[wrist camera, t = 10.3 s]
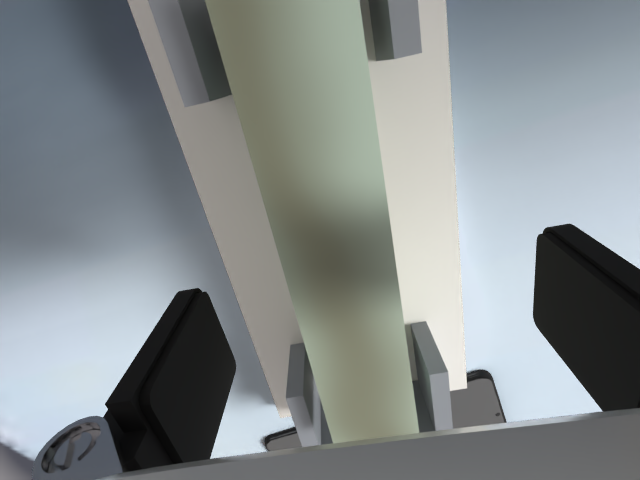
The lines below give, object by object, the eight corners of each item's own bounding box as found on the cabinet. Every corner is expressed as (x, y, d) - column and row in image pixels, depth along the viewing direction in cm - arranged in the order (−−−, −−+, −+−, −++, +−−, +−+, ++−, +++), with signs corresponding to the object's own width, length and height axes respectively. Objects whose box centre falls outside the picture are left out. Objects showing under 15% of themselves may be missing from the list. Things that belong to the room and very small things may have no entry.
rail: (339, -5, 13) (353, -44, 8) (396, 358, 20) (420, 443, 16) (241, 19, 13) (203, -6, 9) (331, 369, 20) (336, 455, 16)
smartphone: (260, 443, 24) (492, 374, 21) (262, 430, 25) (486, 362, 22) (304, 501, 26) (515, 447, 24) (305, 488, 27) (508, 434, 25)
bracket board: (429, -127, 12) (485, -224, 8) (460, 374, 22) (494, 445, 18) (122, -45, 13) (35, -96, 9) (281, 404, 23) (274, 477, 19)
